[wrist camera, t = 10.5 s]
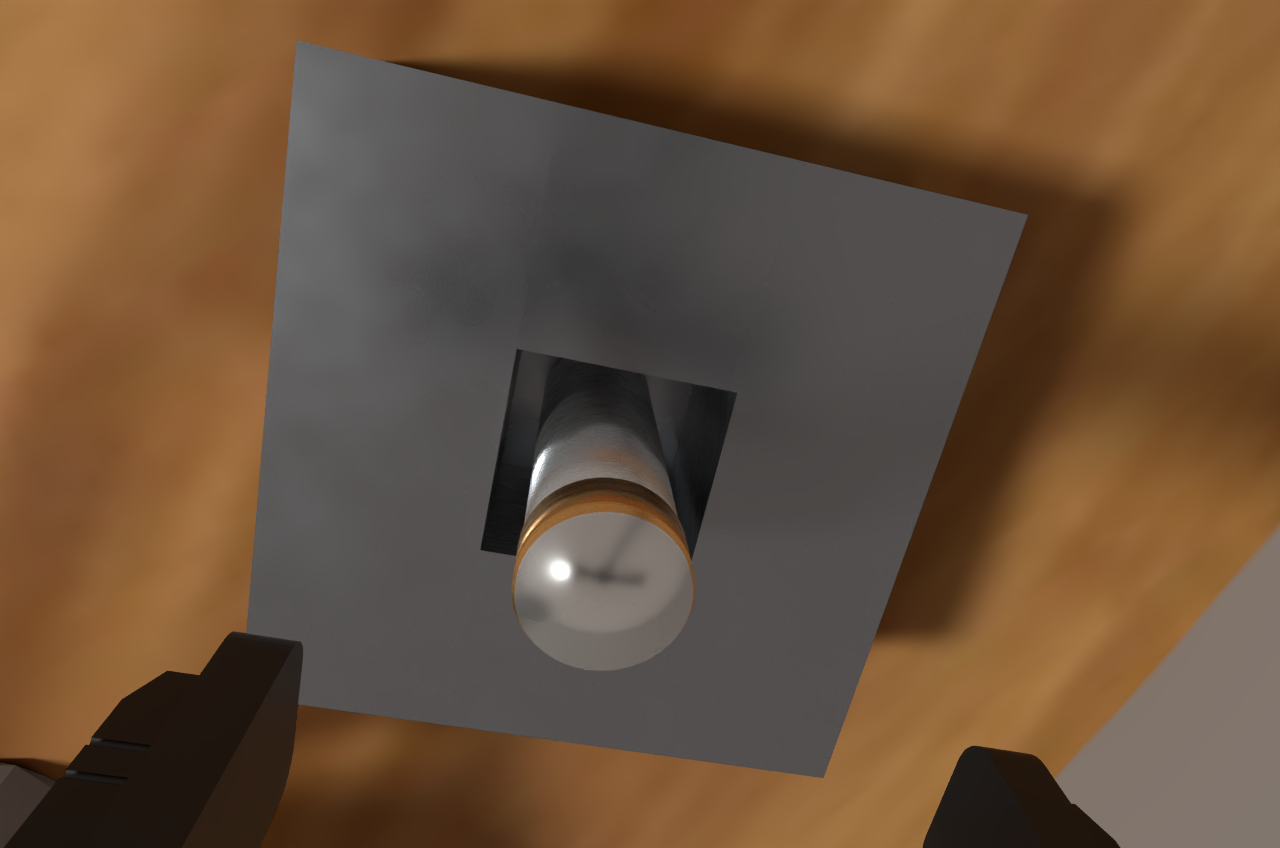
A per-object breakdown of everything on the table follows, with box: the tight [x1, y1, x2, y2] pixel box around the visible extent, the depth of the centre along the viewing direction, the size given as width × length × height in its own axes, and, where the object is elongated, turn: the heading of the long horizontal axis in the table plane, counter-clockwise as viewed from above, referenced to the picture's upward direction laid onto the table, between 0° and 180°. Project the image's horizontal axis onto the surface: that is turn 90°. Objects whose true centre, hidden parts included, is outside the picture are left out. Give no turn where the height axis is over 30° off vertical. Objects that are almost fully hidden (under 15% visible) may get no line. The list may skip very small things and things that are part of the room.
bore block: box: [246, 41, 1028, 778], centre depth 21 cm, size 14×14×6 cm
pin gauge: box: [512, 358, 696, 671], centre depth 18 cm, size 3×3×10 cm
